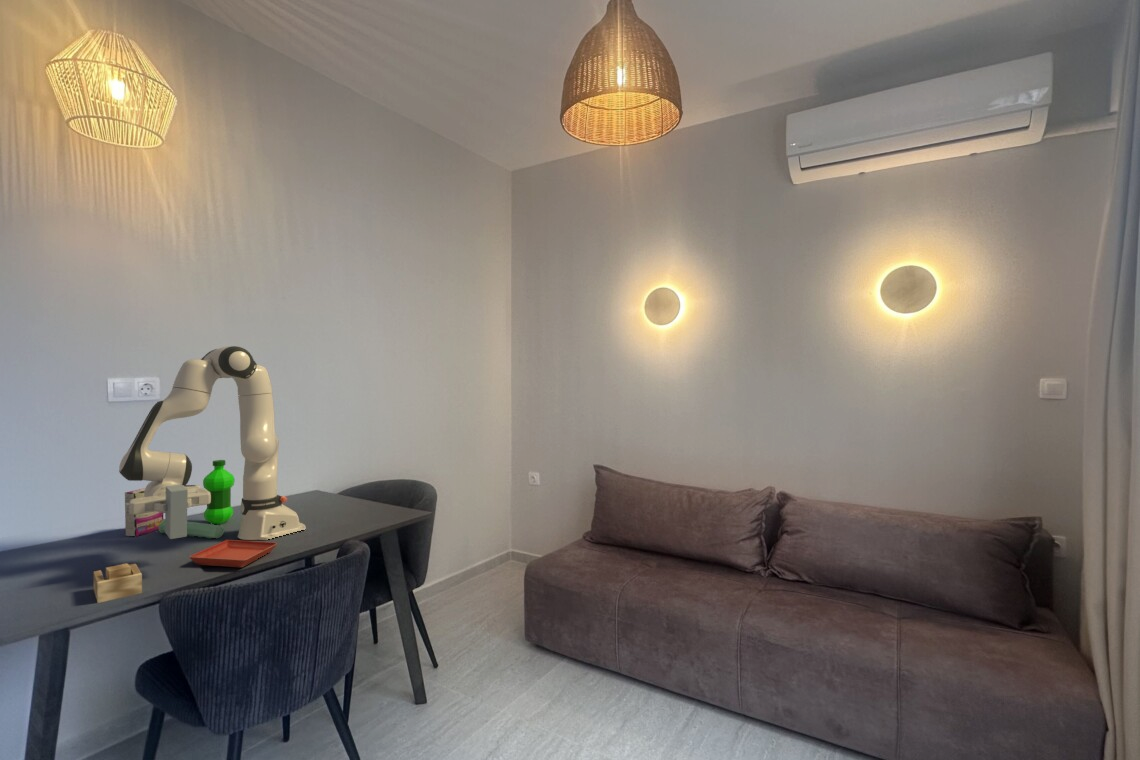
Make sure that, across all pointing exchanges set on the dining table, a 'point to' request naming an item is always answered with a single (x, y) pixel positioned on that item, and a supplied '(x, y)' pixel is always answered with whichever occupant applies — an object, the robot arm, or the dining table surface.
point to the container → (198, 529)
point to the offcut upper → (118, 571)
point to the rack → (117, 585)
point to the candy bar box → (140, 517)
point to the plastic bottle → (219, 493)
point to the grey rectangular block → (176, 511)
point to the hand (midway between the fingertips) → (175, 506)
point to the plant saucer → (233, 553)
